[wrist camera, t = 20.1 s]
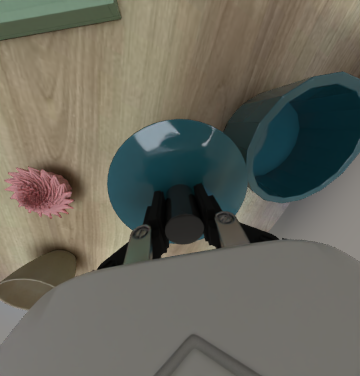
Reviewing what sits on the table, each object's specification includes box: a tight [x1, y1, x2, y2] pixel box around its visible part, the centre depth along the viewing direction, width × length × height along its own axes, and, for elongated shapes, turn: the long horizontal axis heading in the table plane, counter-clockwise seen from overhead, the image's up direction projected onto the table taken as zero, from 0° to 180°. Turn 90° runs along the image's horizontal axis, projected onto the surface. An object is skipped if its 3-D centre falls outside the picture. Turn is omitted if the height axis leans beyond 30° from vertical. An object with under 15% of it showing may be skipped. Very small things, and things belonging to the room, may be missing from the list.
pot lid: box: [107, 119, 248, 244], centre depth 11 cm, size 14×14×6 cm
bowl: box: [0, 250, 76, 311], centre depth 25 cm, size 10×10×7 cm
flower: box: [4, 166, 75, 219], centre depth 18 cm, size 8×8×6 cm
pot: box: [223, 71, 360, 203], centre depth 17 cm, size 13×13×8 cm
